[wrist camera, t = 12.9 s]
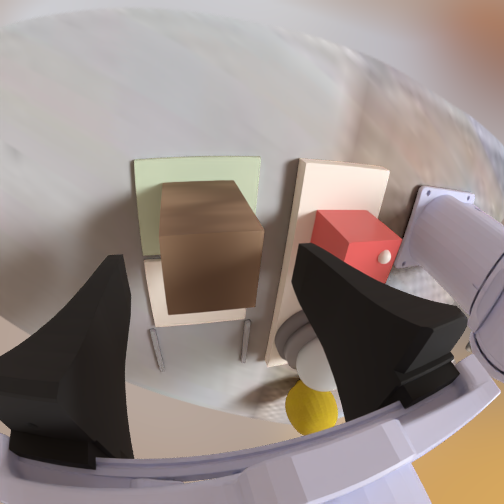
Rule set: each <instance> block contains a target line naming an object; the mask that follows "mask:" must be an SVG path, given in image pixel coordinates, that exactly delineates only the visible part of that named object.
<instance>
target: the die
mask: <svg viewBox="0 0 504 504" xmlns="http://www.w3.org/2000/svg"><path fill="white" fill-rule="evenodd" d="M401 242H402V239H401V238H400V237H399V236H398V235H397V234H395V233H394V232H393V231H392V230H391V229H389V228H388V227H387V226H386V225H385V224H383V223H382V222H381V221H380V220H379V219H377V218H376V217H375V216H374V215H372V214H371V213H370V212H369V211H367V210H317V212H316V217H315V222H314V227H313V231H312V236H311V241H310V243H313V244H315V245H317V246H319V247H321V248H323V249H324V250H326V251H328V252H329V253H331V254H333V255H334V256H336V257H337V258H339V259H341V260H342V261H344V262H345V263H347V264H349V265H350V266H352V267H354V268H355V269H357V270H359V271H361V272H363V273H364V274H366V275H368V276H370V277H372V278H374V279H376V280H377V281H380V282H382V283H384V284H385V283H386V281H387V278H388V276H389V273H390V271H391V268H392V266H393V263H394V261H395V258H396V255H397V253H398V250H399V247H400V244H401Z"/></svg>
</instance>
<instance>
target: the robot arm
mask: <svg viewBox="0 0 504 504" xmlns="http://www.w3.org/2000/svg"><path fill="white" fill-rule="evenodd" d="M474 200H475V195H474V194H473V193H470V192H464V191H458V190H452V189H445V188H438V187H431V186H421V187H420V188H419V190H418V194H417V197H416V201H415V204H414V207H413V211H412V214H411V217H410V220H409V223H408V226H407V229H406V232H405V235H404V238H403V240H402V243H401V246H400V249H399V251H398V254H397V257H396V259H395V262H394V266H395V267H396V268H398V269H399V268H405V267H412V266H418V265H420V266H421V267H422V268H423V269H425V270H426V271H427V272H428V273H429V274H430V275H431V276H432V277H433V278H434V279H435V280H436V281H437V282H438V283H439V284H440V285H441V286H442V287H443V288H444V289H445V290H446V291H447V292H448V293H449V294H450V296H451V297H452V298H453V299H454V300H455V301H456V302H457V303H458V304H459V305H460V306H461V307H462V308H463V309H464V310H465V312H466V313H467V314H468V315H469V316H470V317H469V319H467V317H466V316H465V314H464V313H463V312H462V311H461V310H460V309H459V308H458V307H457V306H453V305H449V304H444V303H439V302H434V301H430V300H427V299H423V298H420V297H417V296H414V295H411V294H408V293H405V292H403V291H400V290H397V289H395V288H393V287H390V286H388V285H386V284H384V283H382V282H380V281H377V280H376V279H374V278H372V277H370V276H368V275H366V274H364V273H363V272H361V271H359V270H357V269H355V268H354V267H352V266H350V265H349V264H347V263H345V262H344V261H342V260H341V259H339V258H337V257H336V256H334V255H333V254H331V253H329V252H328V251H326V250H324V249H323V248H321V247H319V246H317V245H315V244H313V243H299V245H298V250H297V255H296V260H295V265H294V270H293V275H292V280H291V283H292V286H293V289H294V292H295V294H296V297H297V300H298V302H299V304H300V306H301V308H302V309H303V311H304V313H305V315H306V317H307V319H308V321H309V322H310V324H311V326H312V328H313V330H314V332H315V334H316V335H317V337H318V339H319V341H320V343H321V345H322V347H323V350H324V352H325V355H326V358H327V360H328V363H329V365H330V368H331V371H332V374H333V377H334V380H335V383H336V386H337V390H338V393H339V397H340V400H341V404H342V408H343V412H344V416H345V421H346V423H343V424H340V425H337V426H334V427H331V428H328V429H325V430H322V431H319V432H315V433H312V434H308V435H305V436H301V437H298V438H294V439H291V440H286V441H282V442H278V443H274V444H269V445H265V446H260V447H255V448H250V449H244V450H239V451H232V452H226V453H219V454H211V455H202V456H193V457H180V458H162V459H134V455H133V450H132V444H131V438H130V432H129V425H128V416H127V406H126V393H125V359H126V349H127V341H128V332H129V325H130V317H131V293H130V288H129V284H128V279H127V274H126V269H125V264H124V259H123V254H122V255H108V256H107V257H106V259H105V260H104V261H103V262H102V263H101V265H100V266H99V267H98V268H97V270H96V271H95V272H94V273H93V275H92V276H91V277H90V278H89V279H88V281H87V282H86V283H85V284H84V286H83V287H82V288H81V289H80V290H79V291H78V292H77V293H76V295H75V296H74V297H73V298H72V299H71V300H70V301H69V302H68V303H67V305H66V306H65V307H64V308H63V309H62V310H61V311H59V312H58V313H57V314H56V315H55V316H54V317H53V318H52V319H51V320H50V321H49V322H47V323H46V324H45V325H44V326H43V327H41V328H40V329H39V330H38V331H37V332H36V333H34V334H33V335H32V336H30V337H29V338H28V339H26V340H25V341H23V342H22V343H21V344H19V345H18V346H16V347H15V348H13V349H12V350H10V351H8V352H7V353H5V354H3V355H2V356H0V420H1V421H2V422H3V423H4V424H5V425H6V426H7V427H9V428H10V429H11V434H10V437H8V436H7V435H5V434H2V433H0V502H1V503H4V504H432V503H431V501H430V499H429V497H428V495H427V493H426V491H425V489H424V487H423V485H422V483H421V481H420V479H419V477H418V475H417V473H416V472H415V470H414V468H413V466H412V464H411V462H413V461H415V460H416V459H418V458H420V457H421V456H423V455H424V454H426V453H427V452H429V451H430V450H432V449H433V448H435V447H436V446H438V445H439V444H440V443H442V442H443V441H445V440H446V439H447V438H449V437H450V436H451V435H453V434H454V433H455V432H457V431H458V430H459V429H461V428H462V427H463V426H464V425H466V424H467V423H468V422H469V421H470V420H471V419H473V418H474V417H475V416H476V415H477V414H479V413H480V412H481V411H482V410H483V409H484V408H485V407H486V406H487V405H489V404H490V403H491V402H492V401H493V400H494V399H495V398H496V397H497V396H498V395H499V394H500V389H499V388H498V387H497V385H496V384H495V382H494V381H493V380H492V378H494V379H496V380H499V381H501V382H503V383H504V225H502V224H501V223H500V222H498V221H497V220H496V219H494V218H493V217H491V216H490V215H488V214H487V213H486V212H484V211H483V210H481V209H480V208H478V207H477V206H475V205H474V204H473V203H474ZM467 326H468V327H469V328H470V329H471V330H472V331H471V333H470V345H471V349H472V353H473V354H471V355H469V356H468V357H466V358H464V359H463V360H461V361H460V362H458V363H457V364H456V365H455V366H454V365H453V363H452V362H451V361H452V360H453V359H454V356H453V355H452V353H451V352H450V351H451V350H452V348H453V347H454V345H455V344H456V343H457V341H458V340H459V339H460V337H461V336H462V334H463V332H464V331H465V328H466V327H467ZM490 376H491V377H492V378H491V377H490ZM214 478H216V479H214ZM205 479H210V480H205ZM196 480H205V481H199V482H192V483H185V484H184V483H183V481H196Z"/></svg>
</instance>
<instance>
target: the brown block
mask: <svg viewBox="0 0 504 504" xmlns="http://www.w3.org/2000/svg"><path fill="white" fill-rule="evenodd" d="M264 231H265V230H264V229H263V227H262V225H261V224H260V222H259V220H258V219H257V217H256V215H255V214H254V212H253V210H252V209H251V207H250V206H249V204H248V202H247V201H246V199H245V197H244V196H243V194H242V193H241V191H240V189H239V188H238V186H237V184H236V183H235V181H234V180H215V181H185V182H165V183H162V195H161V207H160V222H159V245H160V255H161V265H162V273H163V282H164V290H165V297H166V304H167V311H168V315H178V314H190V313H201V312H212V311H222V310H232V309H241V308H250V307H255V304H256V296H257V288H258V280H259V272H260V264H261V256H262V248H263V240H264Z"/></svg>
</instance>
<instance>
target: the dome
mask: <svg viewBox="0 0 504 504" xmlns="http://www.w3.org/2000/svg"><path fill="white" fill-rule="evenodd" d="M284 355H285V358H286V360H287V362H288V364H289V366H290V367H291V368H293V369H296V370H297V372H298V375H299V377H300V379H301V380H302V382H303V383H304V384H305V385H306V386H308V387H309V388H311V389H313V390H316V391H321V392H328V391H333V390H336V389H337V386H336V383H335V380H334V377H333V374H332V371H331V368H330V365H329V363H328V360H327V358H326V355H325V352H324V350H323V347H322V345H321V343H320V341H319V339H318V337H317V335H316V334H315V332H314V330H313V328H312V326H311V324H310V323H309V324H307V325H305V326H303V327H301V328H300V329H298V330H297V331H296V332H295V333H294V334H293V335H292V336H291V337H290V338H289V339H288V340H287V342H286V344H285V346H284Z"/></svg>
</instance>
